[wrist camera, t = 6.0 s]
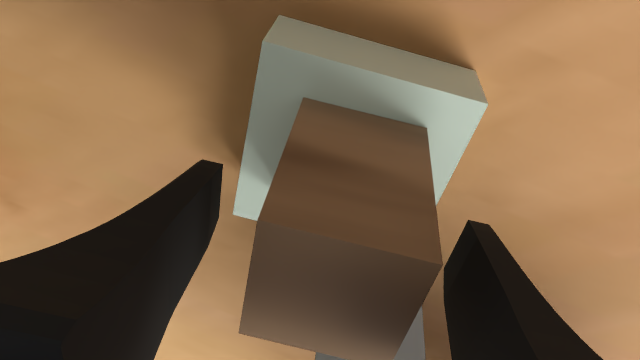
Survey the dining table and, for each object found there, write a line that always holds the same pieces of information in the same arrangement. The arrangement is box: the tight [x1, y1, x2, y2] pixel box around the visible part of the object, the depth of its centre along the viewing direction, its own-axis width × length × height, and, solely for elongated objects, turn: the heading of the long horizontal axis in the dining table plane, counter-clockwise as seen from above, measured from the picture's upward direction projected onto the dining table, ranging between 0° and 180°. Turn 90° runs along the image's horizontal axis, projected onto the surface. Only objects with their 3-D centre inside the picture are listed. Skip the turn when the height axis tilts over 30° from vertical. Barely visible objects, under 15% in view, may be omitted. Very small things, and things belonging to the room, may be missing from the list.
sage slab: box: [233, 15, 488, 221], centre depth 17 cm, size 7×7×3 cm
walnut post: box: [239, 97, 443, 360], centre depth 13 cm, size 4×4×6 cm
